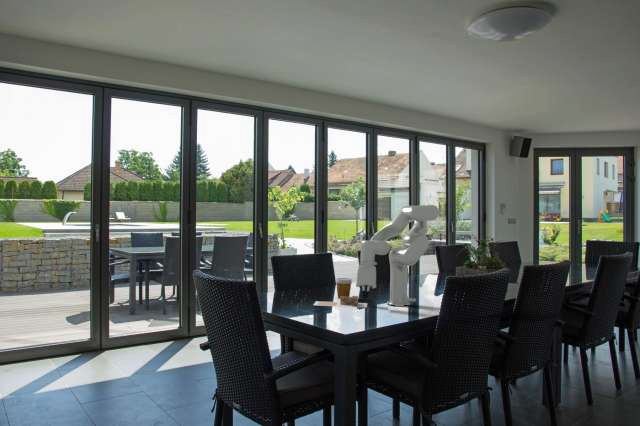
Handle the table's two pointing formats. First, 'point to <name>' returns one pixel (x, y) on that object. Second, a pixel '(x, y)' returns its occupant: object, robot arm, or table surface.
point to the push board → (338, 304)
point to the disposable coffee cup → (343, 287)
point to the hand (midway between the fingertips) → (365, 298)
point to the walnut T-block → (349, 300)
